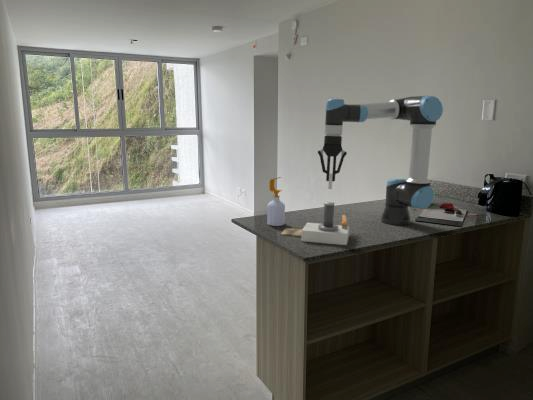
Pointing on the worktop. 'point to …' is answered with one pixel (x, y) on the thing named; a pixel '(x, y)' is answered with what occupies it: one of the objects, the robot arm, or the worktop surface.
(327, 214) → the plug
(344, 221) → the clip
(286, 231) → the cork mat
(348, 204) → the worktop surface
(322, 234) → the socket block
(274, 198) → the soap bottle
